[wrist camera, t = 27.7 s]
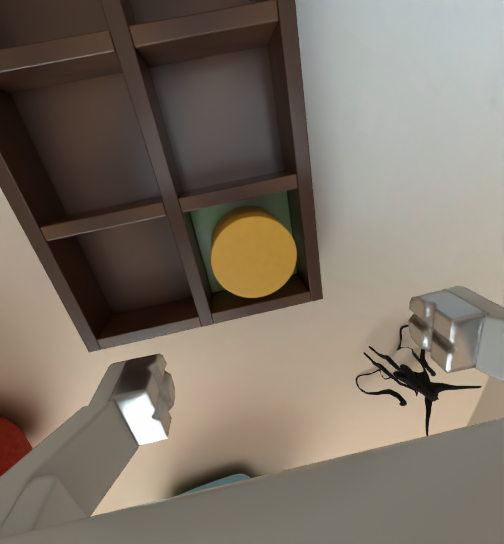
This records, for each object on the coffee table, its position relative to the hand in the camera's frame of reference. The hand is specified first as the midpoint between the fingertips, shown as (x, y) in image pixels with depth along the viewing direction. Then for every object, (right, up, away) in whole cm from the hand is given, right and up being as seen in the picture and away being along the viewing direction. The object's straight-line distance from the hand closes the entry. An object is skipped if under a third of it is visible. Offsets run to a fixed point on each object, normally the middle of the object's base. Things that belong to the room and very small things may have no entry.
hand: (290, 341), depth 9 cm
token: (-2, +4, +10) cm, 11 cm away
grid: (-7, +10, +8) cm, 14 cm away
